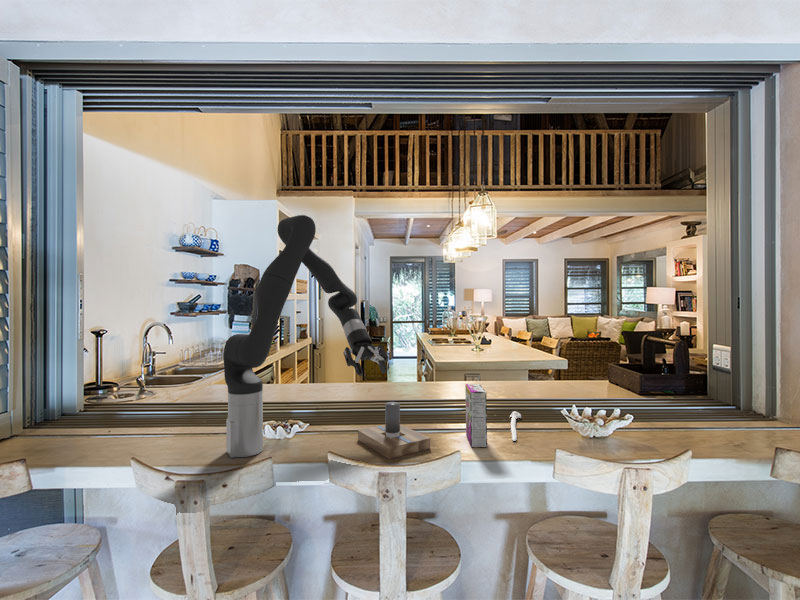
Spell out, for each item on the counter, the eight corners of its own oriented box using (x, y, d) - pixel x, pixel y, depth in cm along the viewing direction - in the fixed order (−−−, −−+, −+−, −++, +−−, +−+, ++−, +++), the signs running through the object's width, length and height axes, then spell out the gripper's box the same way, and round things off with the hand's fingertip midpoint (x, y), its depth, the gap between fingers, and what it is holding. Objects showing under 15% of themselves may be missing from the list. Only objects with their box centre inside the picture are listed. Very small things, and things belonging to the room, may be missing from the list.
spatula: (524, 444, 122) (524, 435, 122) (510, 443, 123) (510, 434, 123) (521, 418, 150) (521, 410, 150) (509, 417, 151) (509, 410, 151)
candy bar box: (464, 435, 130) (464, 383, 130) (480, 435, 130) (480, 383, 130) (470, 448, 119) (470, 391, 119) (487, 448, 118) (487, 391, 118)
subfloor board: (388, 458, 111) (388, 447, 111) (358, 440, 126) (358, 429, 126) (430, 448, 118) (430, 437, 118) (396, 431, 134) (396, 422, 134)
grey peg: (390, 447, 119) (390, 406, 119) (382, 443, 123) (382, 403, 123) (402, 444, 122) (402, 404, 122) (395, 440, 125) (394, 401, 125)
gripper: (341, 328, 135) (357, 368, 126) (378, 327, 143) (396, 364, 134) (334, 343, 140) (349, 382, 130) (371, 340, 148) (388, 377, 138)
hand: (373, 373), depth 132 cm, fingers open, 8 cm apart
